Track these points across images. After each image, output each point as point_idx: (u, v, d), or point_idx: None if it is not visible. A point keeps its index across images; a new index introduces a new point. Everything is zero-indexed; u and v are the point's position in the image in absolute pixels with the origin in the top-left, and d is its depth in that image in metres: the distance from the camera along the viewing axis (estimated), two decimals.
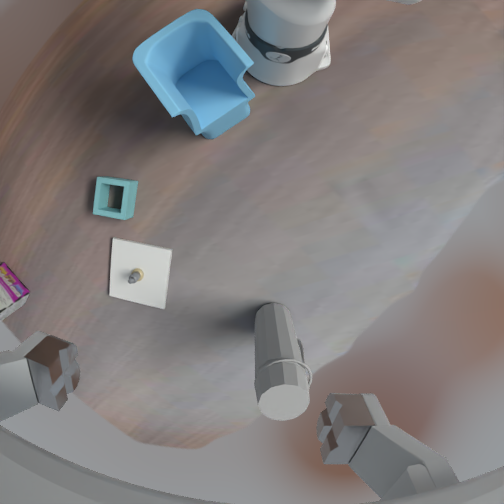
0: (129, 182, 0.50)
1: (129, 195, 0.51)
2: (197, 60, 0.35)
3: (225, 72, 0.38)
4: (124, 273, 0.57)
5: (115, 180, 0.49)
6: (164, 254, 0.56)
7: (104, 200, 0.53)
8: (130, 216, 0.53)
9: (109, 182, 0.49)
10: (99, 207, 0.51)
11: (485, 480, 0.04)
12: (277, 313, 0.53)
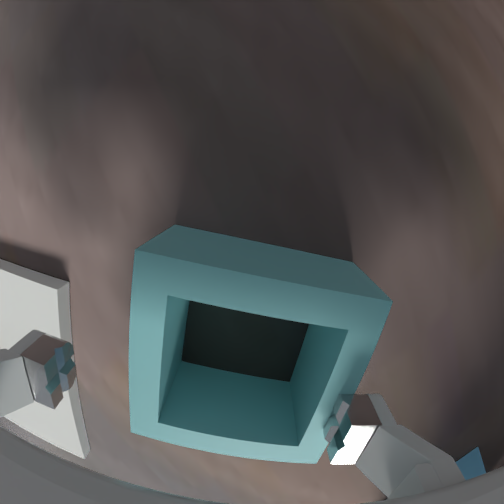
0: (312, 459, 0.09)
1: None
2: None
3: None
4: None
5: None
6: (68, 443, 0.13)
7: None
8: None
9: (338, 381, 0.08)
10: None
11: (486, 480, 0.04)
12: None
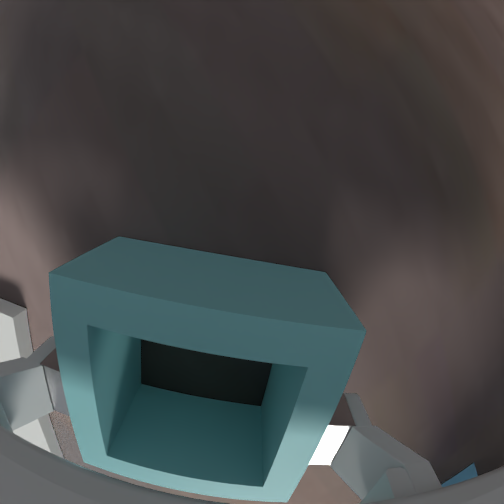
0: (282, 498, 0.07)
1: None
2: None
3: None
4: None
5: (307, 452, 0.07)
6: None
7: None
8: None
9: (300, 424, 0.06)
10: None
11: (486, 480, 0.04)
12: None
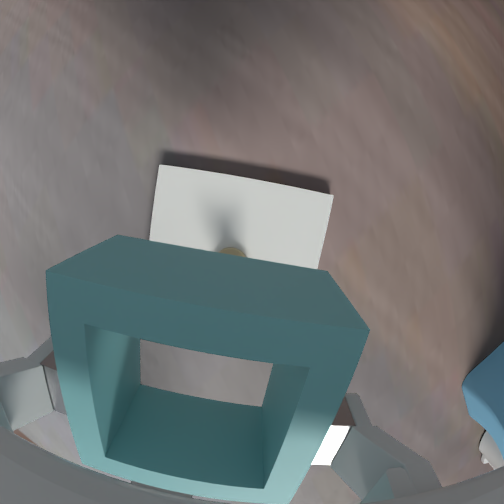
0: (283, 500, 0.07)
1: None
2: None
3: None
4: (231, 222, 0.21)
5: (309, 454, 0.07)
6: None
7: None
8: None
9: (302, 425, 0.06)
10: None
11: (486, 480, 0.04)
12: None
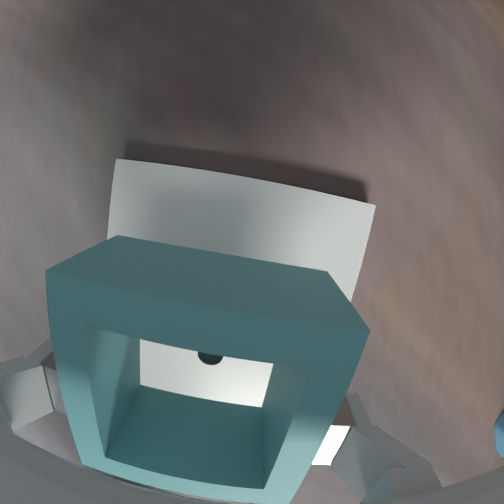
0: (283, 500, 0.07)
1: None
2: None
3: None
4: (221, 245, 0.14)
5: (309, 454, 0.07)
6: None
7: None
8: None
9: (302, 426, 0.06)
10: None
11: (485, 480, 0.04)
12: None
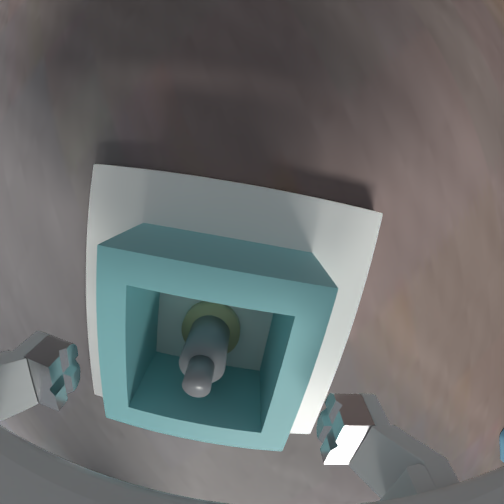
0: (277, 447, 0.10)
1: None
2: None
3: None
4: None
5: (297, 396, 0.09)
6: (297, 419, 0.14)
7: None
8: None
9: (291, 367, 0.09)
10: None
11: (486, 480, 0.04)
12: None
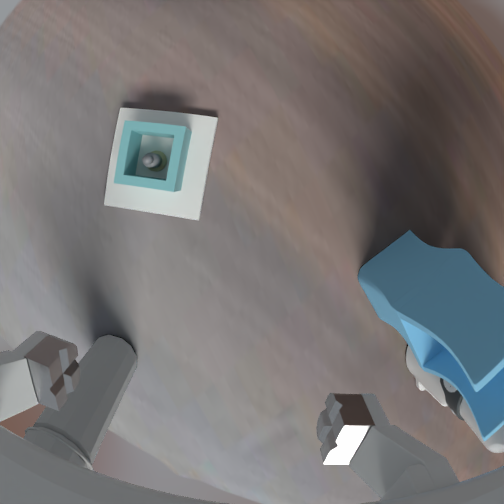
0: (172, 190, 0.30)
1: None
2: None
3: None
4: (157, 136, 0.33)
5: (176, 163, 0.30)
6: (191, 209, 0.35)
7: (149, 134, 0.31)
8: None
9: (174, 151, 0.29)
10: (135, 131, 0.29)
11: (486, 480, 0.04)
12: (127, 378, 0.35)
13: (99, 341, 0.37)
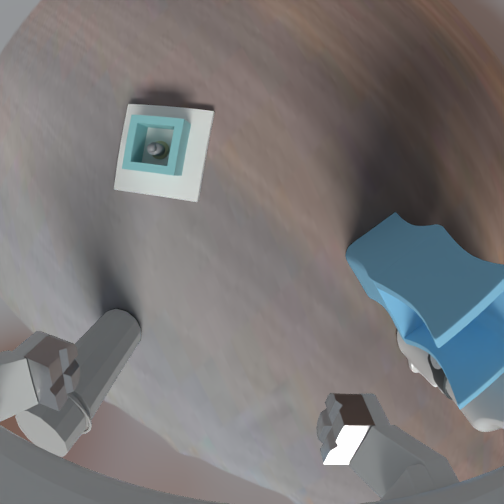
0: (172, 174, 0.34)
1: None
2: None
3: None
4: None
5: (176, 150, 0.34)
6: (191, 192, 0.39)
7: (153, 126, 0.35)
8: None
9: (174, 140, 0.33)
10: (141, 123, 0.33)
11: (486, 480, 0.04)
12: (130, 348, 0.40)
13: (106, 314, 0.42)
